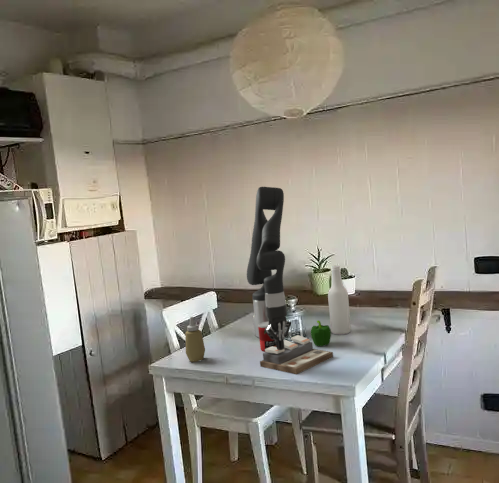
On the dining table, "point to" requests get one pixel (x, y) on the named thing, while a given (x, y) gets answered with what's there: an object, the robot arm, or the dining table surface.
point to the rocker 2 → (289, 345)
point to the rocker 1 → (273, 350)
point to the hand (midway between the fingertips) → (280, 349)
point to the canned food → (265, 337)
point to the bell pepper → (321, 334)
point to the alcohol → (338, 304)
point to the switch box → (295, 358)
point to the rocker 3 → (300, 339)
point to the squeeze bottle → (194, 342)
